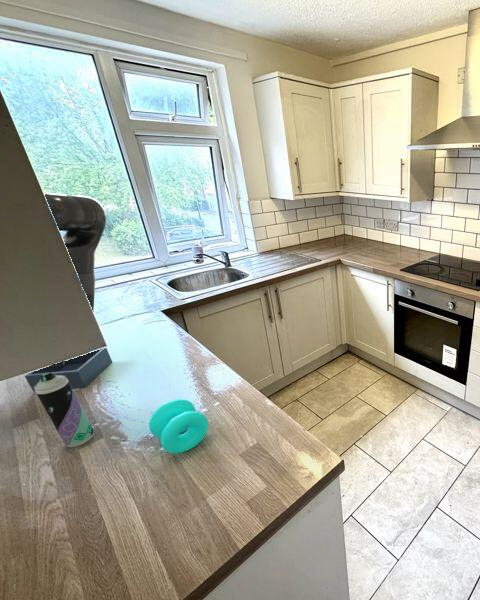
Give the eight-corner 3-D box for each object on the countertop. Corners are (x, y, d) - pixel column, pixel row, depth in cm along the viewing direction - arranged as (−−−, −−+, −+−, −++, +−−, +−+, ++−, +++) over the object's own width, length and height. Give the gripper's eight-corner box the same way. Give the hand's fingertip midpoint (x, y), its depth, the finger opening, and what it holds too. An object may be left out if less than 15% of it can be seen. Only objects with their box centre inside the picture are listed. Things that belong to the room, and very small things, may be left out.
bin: (33, 392, 98) (24, 376, 96) (67, 366, 110) (59, 350, 108) (85, 387, 100) (77, 371, 98) (112, 362, 112) (106, 347, 110)
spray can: (66, 451, 79) (28, 384, 71) (64, 438, 82) (28, 373, 74) (95, 438, 82) (63, 373, 74) (93, 426, 86) (61, 363, 78)
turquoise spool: (170, 464, 76) (158, 432, 72) (154, 443, 81) (141, 412, 77) (214, 437, 83) (205, 406, 79) (196, 419, 89) (187, 390, 84)
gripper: (68, 277, 76) (66, 341, 79) (23, 295, 63) (24, 370, 67) (108, 283, 78) (105, 344, 82) (73, 301, 66) (71, 373, 69)
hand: (68, 356), depth 74 cm, fingers open, 8 cm apart
